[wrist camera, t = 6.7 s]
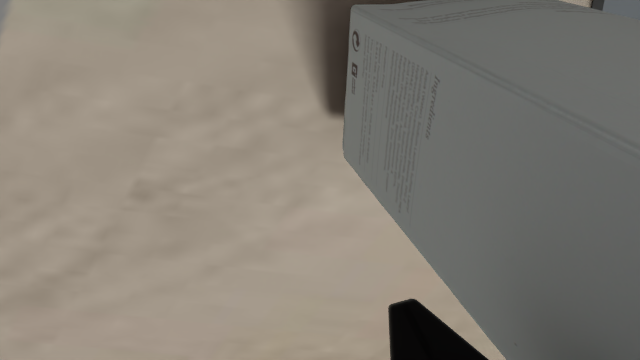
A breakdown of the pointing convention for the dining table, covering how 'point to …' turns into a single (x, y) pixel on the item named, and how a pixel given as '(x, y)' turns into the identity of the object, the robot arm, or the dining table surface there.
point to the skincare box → (509, 161)
